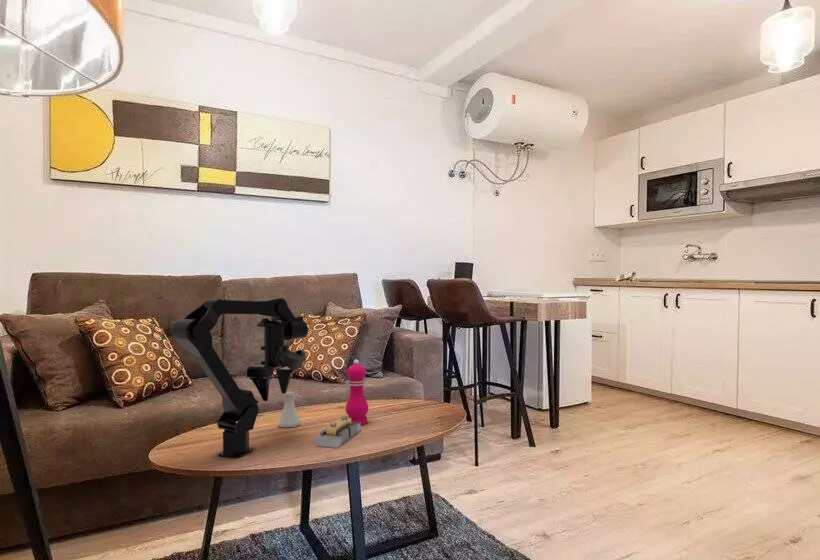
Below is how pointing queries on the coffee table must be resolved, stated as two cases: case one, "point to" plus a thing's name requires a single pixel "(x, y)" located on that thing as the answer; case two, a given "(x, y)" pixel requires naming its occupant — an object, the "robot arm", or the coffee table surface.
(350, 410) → the pepper mill
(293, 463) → the coffee table surface
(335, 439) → the grey metal base
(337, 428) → the link bar
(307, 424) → the coffee table surface
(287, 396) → the flask
